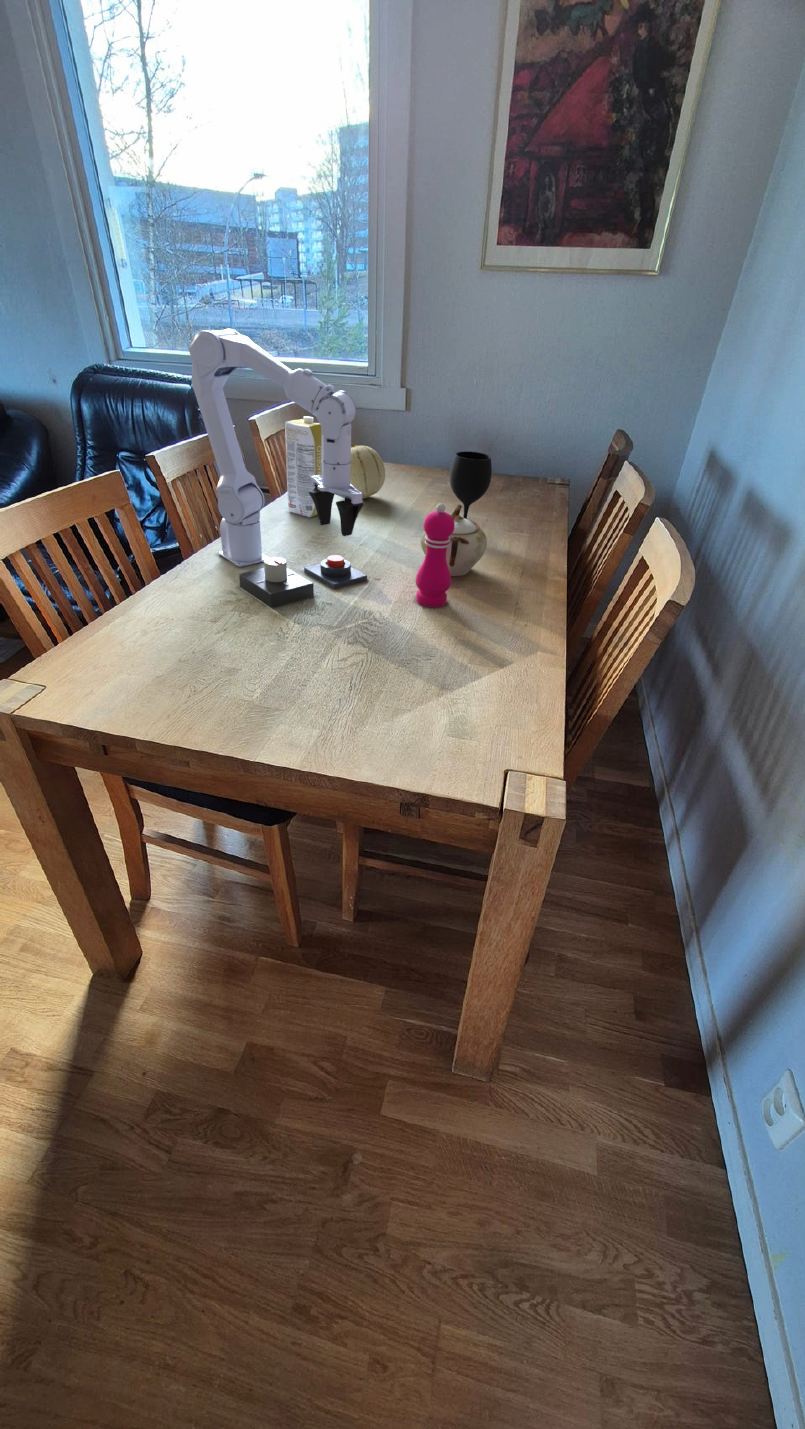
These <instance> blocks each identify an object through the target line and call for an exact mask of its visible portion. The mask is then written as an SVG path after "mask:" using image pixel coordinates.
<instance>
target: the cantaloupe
mask: <svg viewBox="0 0 805 1429" xmlns="http://www.w3.org/2000/svg"><path fill="white" fill-rule="evenodd" d="M385 481H386V468H385V463H384V462H383V460H382V457H381V455H380V454H379V453H378V451H376V450H375V449H373V448H372V447H370V446H367V445H357V444H356V443H354V442H351V473H350V484H351V485H352V486H353V487H354V488H355V489H357V490H358V491H359V492H361V493H362V500H364V499H365V500H366V499H368V498H369V497H372V496H373V495H376V494H378V493H379V491H381V489H382V487H383V486H384V483H385Z"/></svg>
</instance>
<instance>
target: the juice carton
mask: <svg viewBox="0 0 805 1429" xmlns="http://www.w3.org/2000/svg"><path fill="white" fill-rule="evenodd" d="M284 425H285V426H284V428H285V429H284V430H285V432H284V434H285V436H284V437H285V439H284V440H285V464H286V489H287V506H288V511H289V512H290V513H293V514H297V515H300V516H304V517H307V518H312V517H316V516H318V514H317V510H316V507H315V504H314V502H313V500H312V498H311V496H310V494H309V490H313V489H314V488H315V487H313V486H311V476H318V475H319V476H322V428H321V425H320V423H319V422H314V417H313V416H307V415H306V416H305V415H304V416H303V418H300V419H293V420H292V419H291V420H287V421H285V424H284Z"/></svg>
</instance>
